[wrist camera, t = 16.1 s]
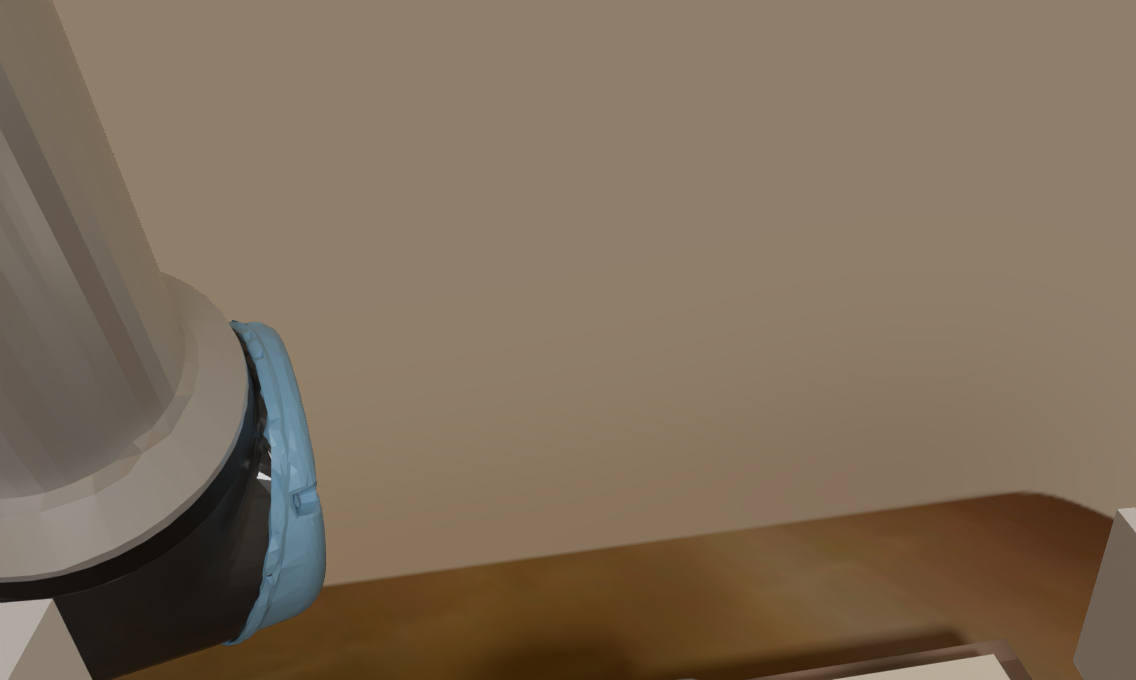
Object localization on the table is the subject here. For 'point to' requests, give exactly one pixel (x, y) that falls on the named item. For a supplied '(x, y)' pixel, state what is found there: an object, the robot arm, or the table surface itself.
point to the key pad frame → (915, 662)
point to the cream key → (945, 671)
